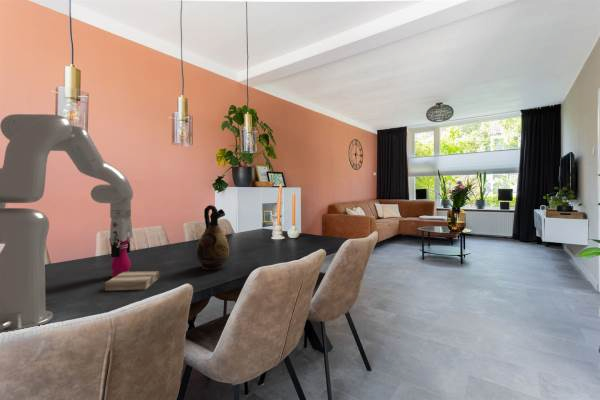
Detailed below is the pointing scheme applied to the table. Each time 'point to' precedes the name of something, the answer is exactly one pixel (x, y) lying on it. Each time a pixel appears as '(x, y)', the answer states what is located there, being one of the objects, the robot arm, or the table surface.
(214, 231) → the ceramic jug
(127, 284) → the birch stand
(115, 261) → the pepper mill
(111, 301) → the table surface
